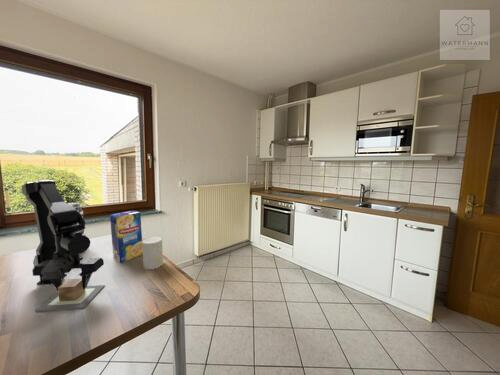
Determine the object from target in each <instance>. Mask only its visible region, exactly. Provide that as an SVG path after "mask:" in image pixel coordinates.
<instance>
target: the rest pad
mask: <svg viewBox="0 0 500 375" xmlns="http://www.w3.org/2000/svg"><path fill="white" fill-rule="evenodd" d="M105 287H106V286H105V284H100V285H87V287H86V288H85V292H84V293H83V294H82V295H81V296H80V297H79V298H78V299H77V300H74V301H59V294H58V292H56V293H55V294H54V295H52V296H51V297H50V298H49V299H48V300H46V301H45V302H44V303H43V304H42V305H40V306H39V307H38V308H37V309H35V311H34V312H35V313H38V312H53V311H65V310H66V311H68V310H79V309H85V308H86V307H87V306H88V304H90V302H91V301H92V300H94V298H95V297H96V296H97V295H98V294H99V293H100V292H101V291H102V290H103V289H104V288H105Z"/></svg>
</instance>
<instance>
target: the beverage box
mask: <svg viewBox="0 0 500 375" xmlns="http://www.w3.org/2000/svg"><path fill="white" fill-rule="evenodd" d="M109 220H110V230H111V231H110V232H111V244H112V256H113V260H114V261H116V262H118V263H124V262H127V261H129V260H132V259H134V257H135V258H138V257H140V256H143V255H142V254H143V249H142V241H143V235H142V232H143V231H142V219H141V212H140V211H138V210H129V211H123V212H118V213H112V214H110V215H109ZM139 255H140V256H139ZM137 256H138V257H137Z"/></svg>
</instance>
